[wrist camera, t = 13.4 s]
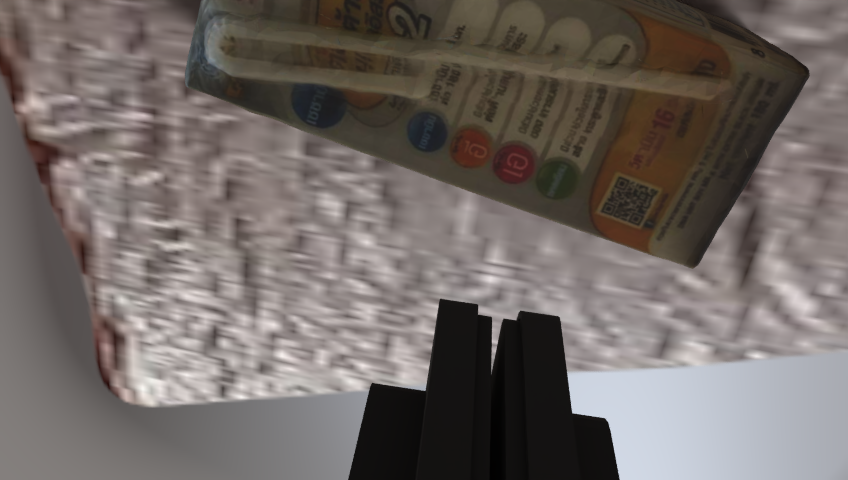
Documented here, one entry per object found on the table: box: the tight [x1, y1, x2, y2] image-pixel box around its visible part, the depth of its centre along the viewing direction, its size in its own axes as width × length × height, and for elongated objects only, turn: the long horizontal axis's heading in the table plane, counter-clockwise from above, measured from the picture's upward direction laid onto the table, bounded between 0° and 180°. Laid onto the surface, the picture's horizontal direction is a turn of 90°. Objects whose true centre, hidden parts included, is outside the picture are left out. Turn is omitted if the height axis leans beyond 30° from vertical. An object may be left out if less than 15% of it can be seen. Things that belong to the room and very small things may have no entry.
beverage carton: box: [185, 0, 810, 269], centre depth 27 cm, size 8×19×7 cm, turn 71°
